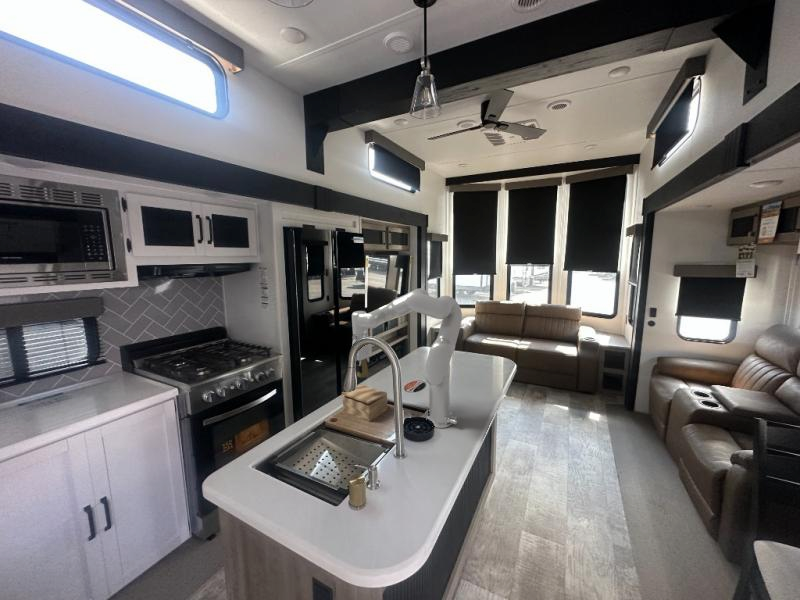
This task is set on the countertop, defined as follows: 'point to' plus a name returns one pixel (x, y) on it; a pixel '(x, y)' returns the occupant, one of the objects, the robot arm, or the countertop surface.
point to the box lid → (365, 394)
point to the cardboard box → (365, 407)
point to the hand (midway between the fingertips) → (362, 370)
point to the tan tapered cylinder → (363, 369)
